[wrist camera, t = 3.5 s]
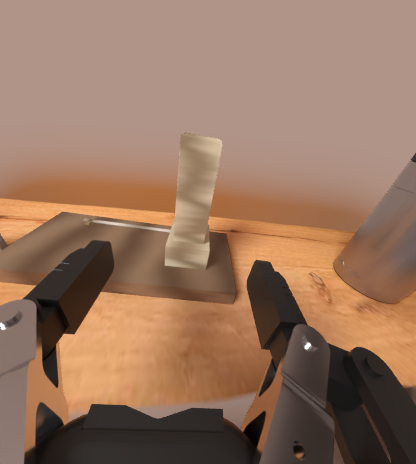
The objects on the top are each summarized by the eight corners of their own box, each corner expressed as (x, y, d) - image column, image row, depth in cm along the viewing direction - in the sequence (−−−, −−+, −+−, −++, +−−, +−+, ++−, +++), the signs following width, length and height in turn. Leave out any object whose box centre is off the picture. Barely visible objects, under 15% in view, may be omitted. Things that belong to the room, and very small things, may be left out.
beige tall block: (205, 238, 27) (225, 138, 20) (205, 270, 21) (232, 146, 14) (173, 234, 27) (180, 130, 19) (164, 265, 21) (169, 134, 13)
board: (223, 243, 30) (226, 233, 29) (232, 304, 20) (236, 292, 19) (66, 222, 28) (62, 211, 27) (-14, 280, 18) (-25, 265, 17)
